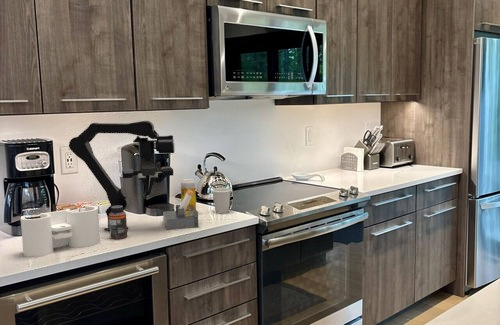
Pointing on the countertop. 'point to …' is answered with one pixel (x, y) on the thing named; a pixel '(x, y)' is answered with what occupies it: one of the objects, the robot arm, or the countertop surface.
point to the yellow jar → (185, 186)
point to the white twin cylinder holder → (60, 231)
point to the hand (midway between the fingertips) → (148, 194)
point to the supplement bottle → (117, 222)
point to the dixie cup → (221, 200)
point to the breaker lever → (186, 199)
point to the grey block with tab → (181, 218)
